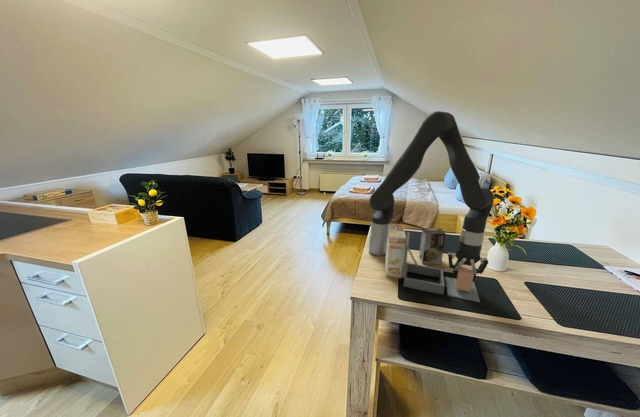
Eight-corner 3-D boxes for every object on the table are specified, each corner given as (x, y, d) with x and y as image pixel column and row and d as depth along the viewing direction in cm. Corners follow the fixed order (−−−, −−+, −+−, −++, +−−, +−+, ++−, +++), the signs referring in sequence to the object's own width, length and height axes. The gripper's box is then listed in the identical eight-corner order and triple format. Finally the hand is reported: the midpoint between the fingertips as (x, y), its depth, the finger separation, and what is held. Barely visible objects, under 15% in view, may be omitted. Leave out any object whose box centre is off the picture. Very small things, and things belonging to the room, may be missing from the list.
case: (400, 285, 103) (405, 244, 97) (403, 269, 115) (407, 232, 109) (443, 294, 97) (450, 251, 91) (441, 277, 109) (447, 237, 103)
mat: (447, 295, 97) (447, 294, 97) (444, 277, 108) (445, 276, 108) (479, 302, 93) (480, 301, 93) (473, 283, 104) (474, 282, 104)
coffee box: (436, 257, 125) (441, 228, 120) (441, 264, 119) (446, 233, 114) (418, 257, 126) (422, 227, 121) (421, 263, 120) (426, 232, 115)
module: (455, 288, 98) (459, 271, 95) (453, 279, 104) (457, 262, 101) (470, 291, 96) (474, 274, 94) (467, 281, 102) (471, 264, 100)
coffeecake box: (402, 278, 108) (406, 237, 102) (385, 276, 110) (388, 236, 104) (400, 261, 122) (403, 224, 116) (385, 259, 123) (388, 223, 117)
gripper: (450, 241, 93) (443, 280, 98) (495, 248, 88) (485, 288, 93) (449, 234, 100) (442, 270, 105) (490, 239, 95) (481, 277, 100)
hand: (463, 278), depth 99 cm, fingers closed on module, 5 cm apart
